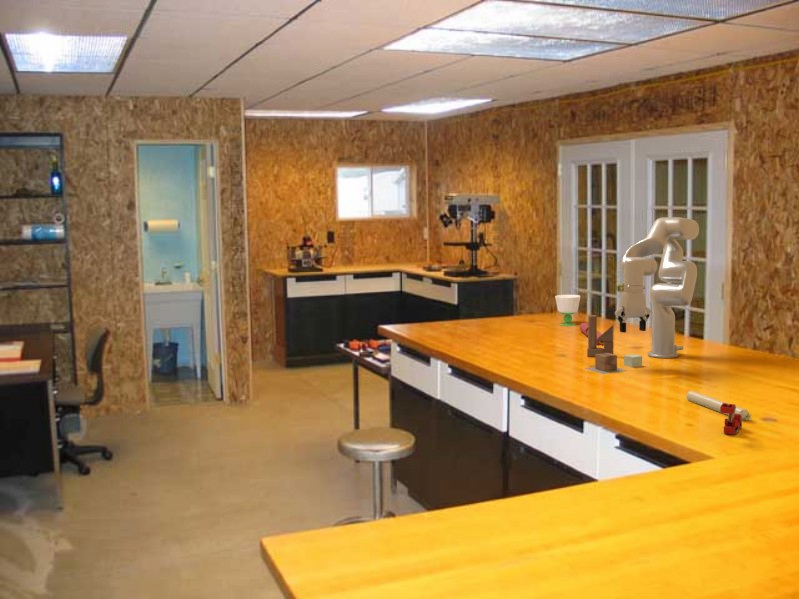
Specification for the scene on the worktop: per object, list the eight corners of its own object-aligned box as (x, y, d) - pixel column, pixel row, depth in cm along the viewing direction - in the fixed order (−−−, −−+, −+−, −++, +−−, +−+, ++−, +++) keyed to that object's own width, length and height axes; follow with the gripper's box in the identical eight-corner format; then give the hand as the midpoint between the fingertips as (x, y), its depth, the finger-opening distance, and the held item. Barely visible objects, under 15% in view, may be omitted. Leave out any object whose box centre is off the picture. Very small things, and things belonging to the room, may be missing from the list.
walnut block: (607, 367, 336) (607, 352, 335) (616, 370, 330) (617, 355, 329) (595, 368, 333) (595, 354, 333) (604, 371, 328) (604, 356, 327)
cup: (555, 326, 450) (555, 297, 448) (554, 322, 463) (554, 294, 461) (581, 326, 447) (581, 297, 445) (579, 322, 461) (580, 294, 459)
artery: (607, 346, 390) (607, 335, 389) (596, 346, 390) (596, 335, 389) (588, 332, 431) (589, 322, 431) (579, 332, 431) (579, 322, 431)
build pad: (609, 367, 339) (609, 365, 339) (627, 372, 328) (627, 370, 328) (584, 370, 335) (584, 368, 335) (602, 375, 324) (602, 373, 324)
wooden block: (612, 357, 359) (612, 316, 357) (587, 356, 363) (587, 316, 361) (613, 356, 363) (613, 315, 360) (588, 355, 367) (588, 314, 365)
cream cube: (634, 366, 341) (634, 354, 341) (642, 368, 337) (642, 356, 336) (624, 367, 339) (624, 355, 339) (631, 369, 335) (632, 357, 334)
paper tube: (743, 423, 253) (744, 411, 253) (686, 401, 282) (686, 390, 282) (754, 422, 254) (754, 410, 254) (695, 400, 283) (695, 390, 282)
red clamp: (742, 427, 248) (743, 396, 246) (731, 439, 236) (732, 406, 235) (731, 426, 250) (731, 394, 248) (719, 437, 238) (719, 404, 237)
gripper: (644, 287, 341) (644, 329, 343) (610, 289, 334) (609, 331, 336) (657, 289, 334) (656, 331, 336) (621, 291, 327) (621, 334, 329)
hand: (632, 331), depth 336 cm, fingers open, 9 cm apart
